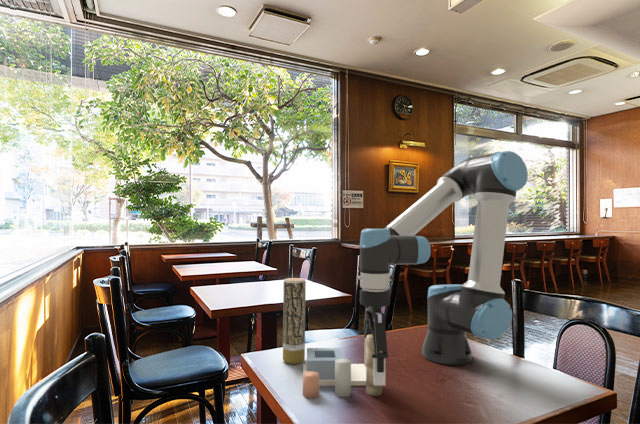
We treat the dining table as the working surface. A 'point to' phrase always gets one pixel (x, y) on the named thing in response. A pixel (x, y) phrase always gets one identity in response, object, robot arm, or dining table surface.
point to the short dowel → (311, 384)
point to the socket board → (354, 376)
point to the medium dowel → (342, 377)
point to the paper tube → (294, 320)
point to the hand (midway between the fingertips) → (374, 373)
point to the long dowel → (371, 369)
